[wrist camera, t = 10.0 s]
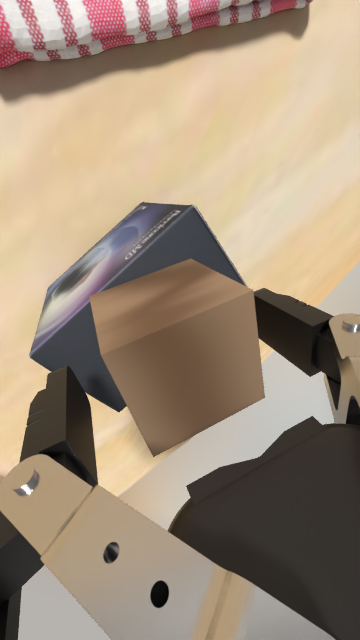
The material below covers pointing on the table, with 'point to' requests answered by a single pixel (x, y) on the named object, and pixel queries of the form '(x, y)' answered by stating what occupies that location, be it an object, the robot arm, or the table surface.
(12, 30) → the dish towel
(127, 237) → the small box
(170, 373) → the walnut block
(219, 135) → the table surface
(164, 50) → the table surface
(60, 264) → the table surface
